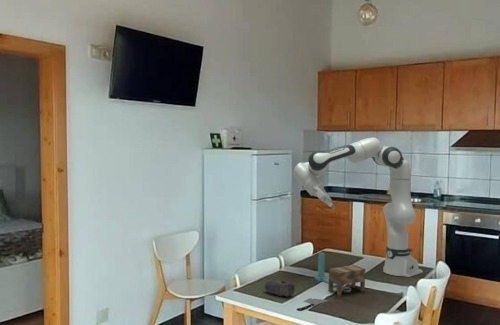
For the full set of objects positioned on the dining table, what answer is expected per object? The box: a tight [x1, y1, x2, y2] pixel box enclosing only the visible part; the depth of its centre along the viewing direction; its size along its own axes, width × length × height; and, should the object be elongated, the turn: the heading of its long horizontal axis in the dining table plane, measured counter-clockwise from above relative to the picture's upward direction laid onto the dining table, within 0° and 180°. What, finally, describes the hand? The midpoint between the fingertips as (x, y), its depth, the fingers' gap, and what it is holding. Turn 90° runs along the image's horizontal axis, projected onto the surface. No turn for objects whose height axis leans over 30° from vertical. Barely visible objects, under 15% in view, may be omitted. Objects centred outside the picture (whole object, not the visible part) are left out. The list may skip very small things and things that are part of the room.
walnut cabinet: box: [327, 264, 366, 297], centre depth 224 cm, size 16×9×11 cm, turn 119°
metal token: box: [342, 286, 352, 294], centre depth 224 cm, size 4×4×2 cm
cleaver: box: [296, 297, 330, 312], centre depth 209 cm, size 29×1×10 cm
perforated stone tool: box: [264, 280, 295, 298], centre depth 217 cm, size 15×5×7 cm, turn 57°
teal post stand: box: [314, 252, 345, 289], centre depth 236 cm, size 16×7×14 cm, turn 29°
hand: (332, 207), depth 240 cm, fingers open, 8 cm apart
